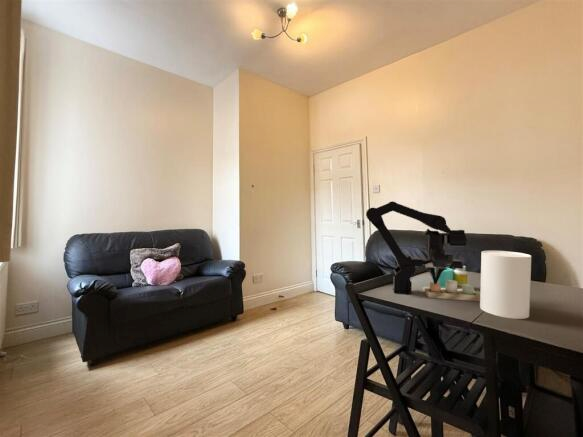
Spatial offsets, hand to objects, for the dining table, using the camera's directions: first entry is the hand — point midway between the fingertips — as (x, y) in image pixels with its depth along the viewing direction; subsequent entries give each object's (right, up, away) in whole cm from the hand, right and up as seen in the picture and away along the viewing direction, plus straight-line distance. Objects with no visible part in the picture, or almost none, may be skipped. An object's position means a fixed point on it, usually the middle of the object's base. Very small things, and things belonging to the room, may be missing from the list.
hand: (435, 283), depth 114 cm
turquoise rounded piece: (+10, -4, +12) cm, 16 cm away
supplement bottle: (+16, -4, +10) cm, 19 cm away
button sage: (+12, -4, -3) cm, 13 cm away
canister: (+14, -6, -18) cm, 24 cm away
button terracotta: (0, -4, 0) cm, 4 cm away
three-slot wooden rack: (+6, -5, -1) cm, 8 cm away
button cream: (+6, -3, -1) cm, 7 cm away
